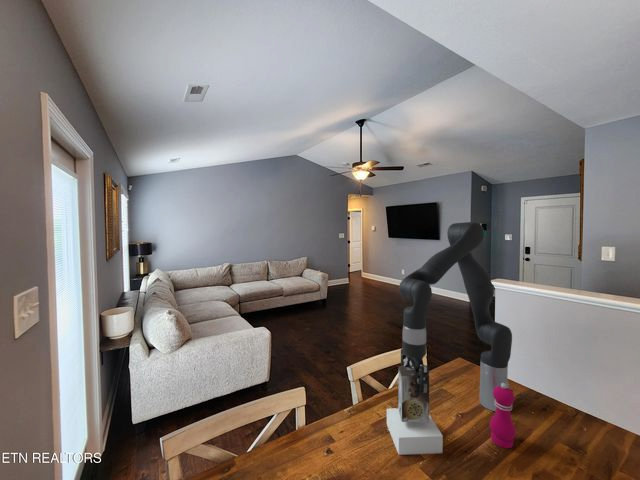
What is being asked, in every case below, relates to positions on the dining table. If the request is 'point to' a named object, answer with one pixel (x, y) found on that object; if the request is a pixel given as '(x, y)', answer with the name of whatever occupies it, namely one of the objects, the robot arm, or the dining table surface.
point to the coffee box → (412, 398)
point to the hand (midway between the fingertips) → (413, 386)
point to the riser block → (414, 435)
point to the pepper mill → (502, 417)
